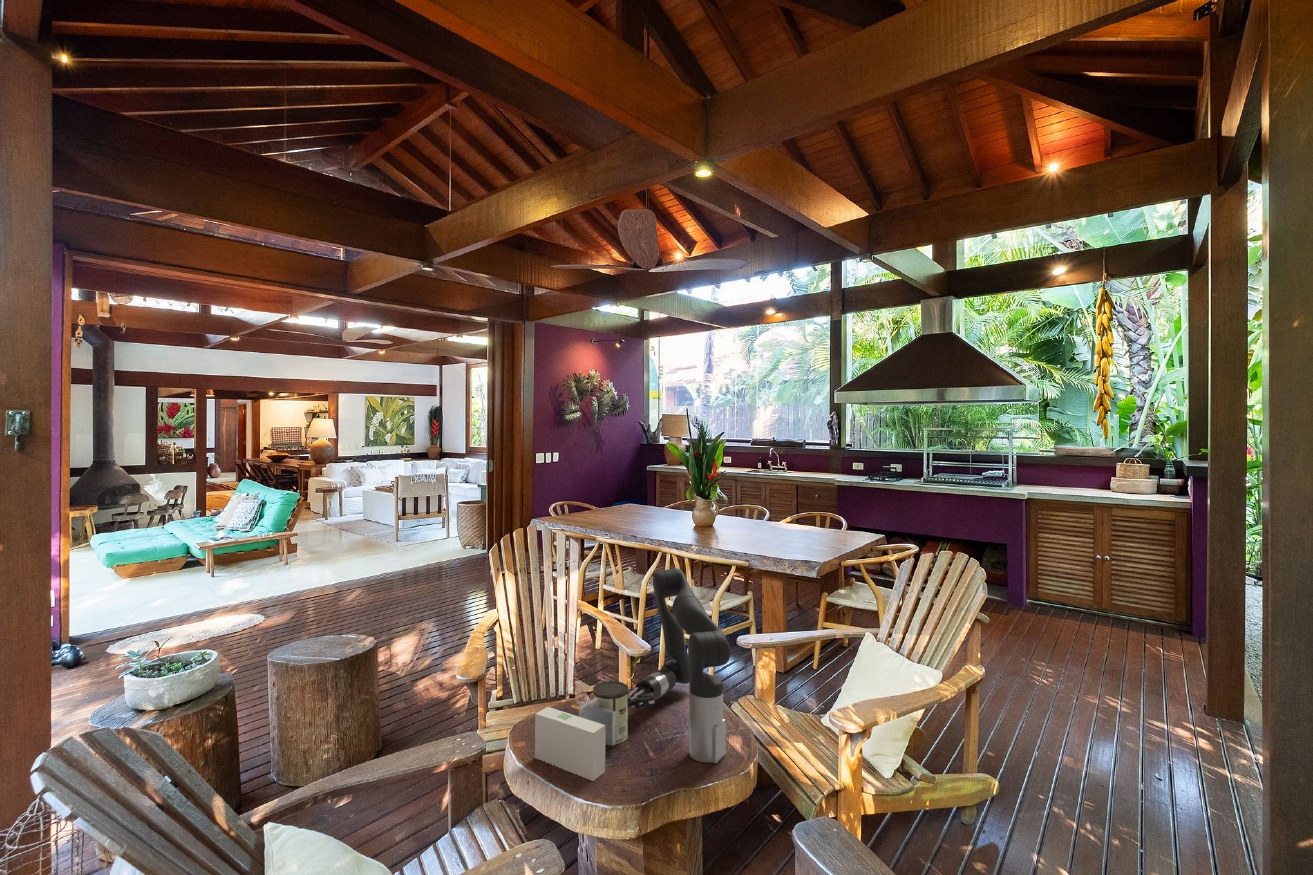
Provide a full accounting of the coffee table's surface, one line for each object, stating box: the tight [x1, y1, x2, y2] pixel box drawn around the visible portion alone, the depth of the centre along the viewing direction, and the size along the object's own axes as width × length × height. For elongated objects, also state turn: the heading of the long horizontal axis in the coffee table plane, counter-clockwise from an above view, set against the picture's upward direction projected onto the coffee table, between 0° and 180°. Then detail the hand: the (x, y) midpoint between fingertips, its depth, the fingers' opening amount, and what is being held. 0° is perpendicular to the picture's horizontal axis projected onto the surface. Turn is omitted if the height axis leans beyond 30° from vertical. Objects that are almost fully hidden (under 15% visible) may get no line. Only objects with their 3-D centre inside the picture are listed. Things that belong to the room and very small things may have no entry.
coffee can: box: [592, 680, 629, 746], centre depth 171 cm, size 10×10×14 cm
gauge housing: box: [534, 706, 606, 782], centre depth 156 cm, size 20×5×12 cm, turn 58°
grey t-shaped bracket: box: [571, 697, 617, 747], centre depth 163 cm, size 12×8×11 cm, turn 58°
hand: (620, 707), depth 176 cm, fingers closed
